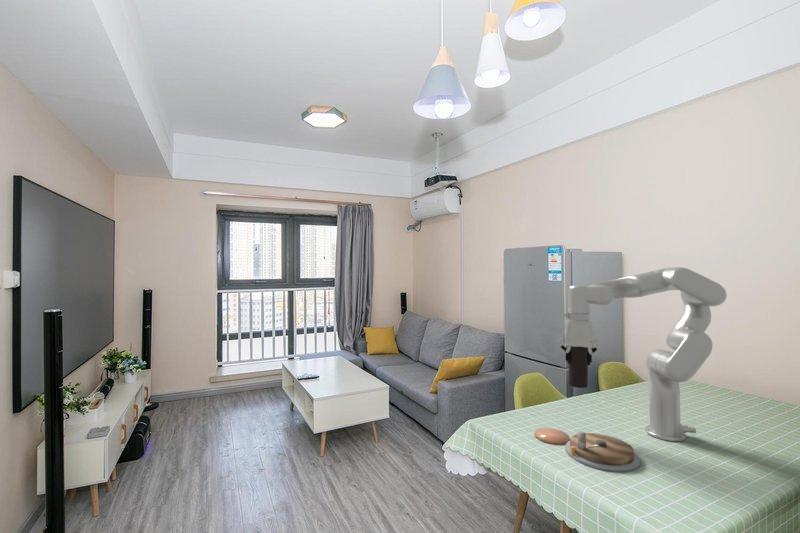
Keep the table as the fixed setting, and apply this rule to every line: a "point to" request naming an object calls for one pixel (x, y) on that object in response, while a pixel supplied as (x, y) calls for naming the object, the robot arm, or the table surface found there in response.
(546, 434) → the peach dome
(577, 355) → the vinegar
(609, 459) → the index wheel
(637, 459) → the wheel base
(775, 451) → the table surface
